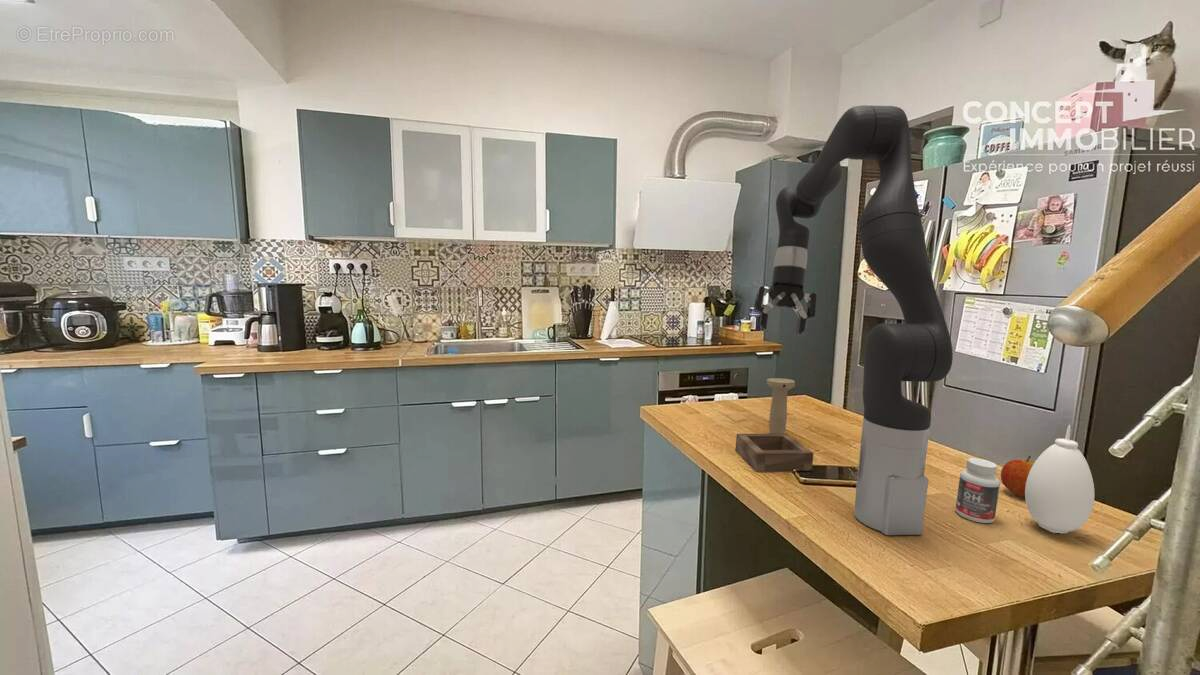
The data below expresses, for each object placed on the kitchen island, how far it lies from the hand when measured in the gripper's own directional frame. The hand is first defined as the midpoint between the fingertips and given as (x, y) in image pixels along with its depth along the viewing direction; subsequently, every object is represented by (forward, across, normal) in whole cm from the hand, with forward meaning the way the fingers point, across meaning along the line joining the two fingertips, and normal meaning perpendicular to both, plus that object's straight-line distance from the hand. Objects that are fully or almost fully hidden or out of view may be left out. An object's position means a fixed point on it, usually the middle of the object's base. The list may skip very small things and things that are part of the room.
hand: (781, 331), depth 118 cm
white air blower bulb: (+30, +37, -36) cm, 60 cm away
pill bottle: (+30, +28, -33) cm, 53 cm away
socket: (+30, -2, -13) cm, 33 cm away
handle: (+27, +2, +1) cm, 27 cm away
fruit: (+27, +42, -23) cm, 55 cm away
